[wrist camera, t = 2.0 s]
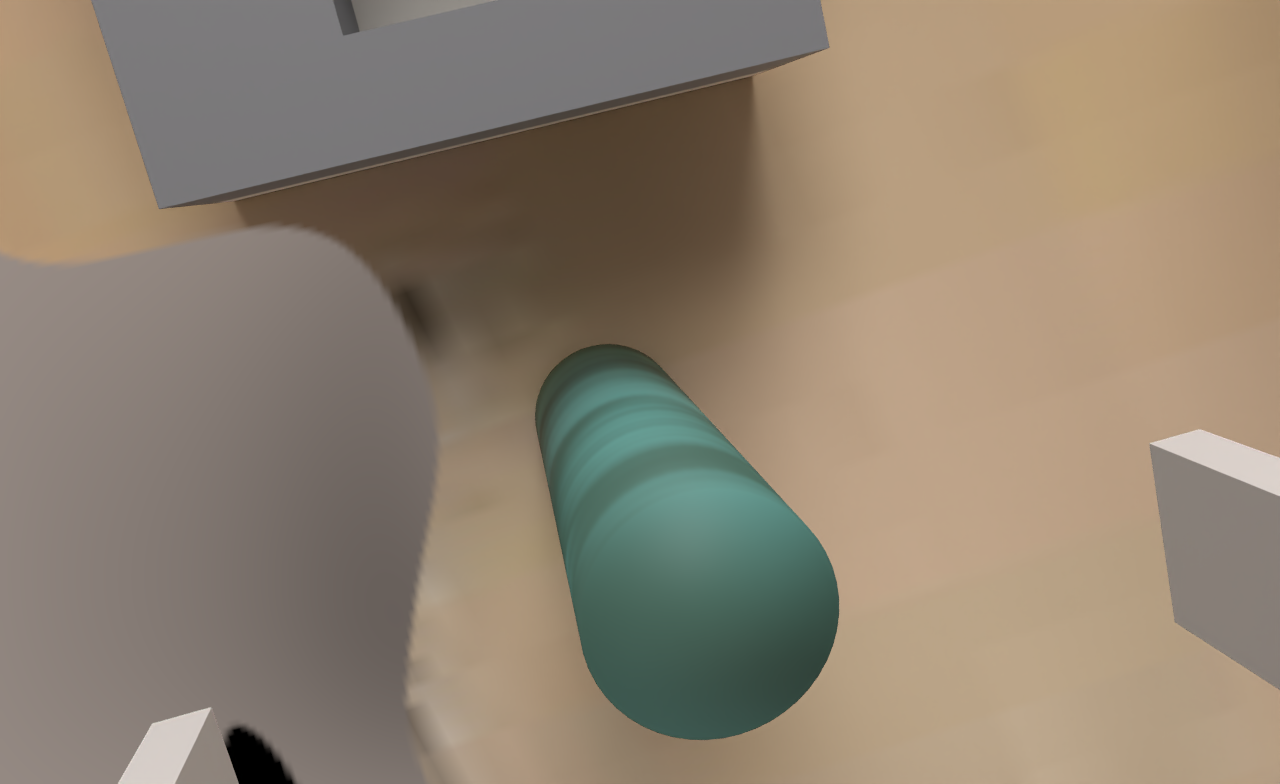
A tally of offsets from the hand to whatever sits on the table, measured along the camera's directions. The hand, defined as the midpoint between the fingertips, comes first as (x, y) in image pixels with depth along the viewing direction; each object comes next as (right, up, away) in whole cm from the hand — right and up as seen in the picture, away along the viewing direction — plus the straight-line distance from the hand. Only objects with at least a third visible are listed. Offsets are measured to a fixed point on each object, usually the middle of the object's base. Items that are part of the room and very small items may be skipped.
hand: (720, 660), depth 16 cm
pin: (-2, +3, +17) cm, 17 cm away
